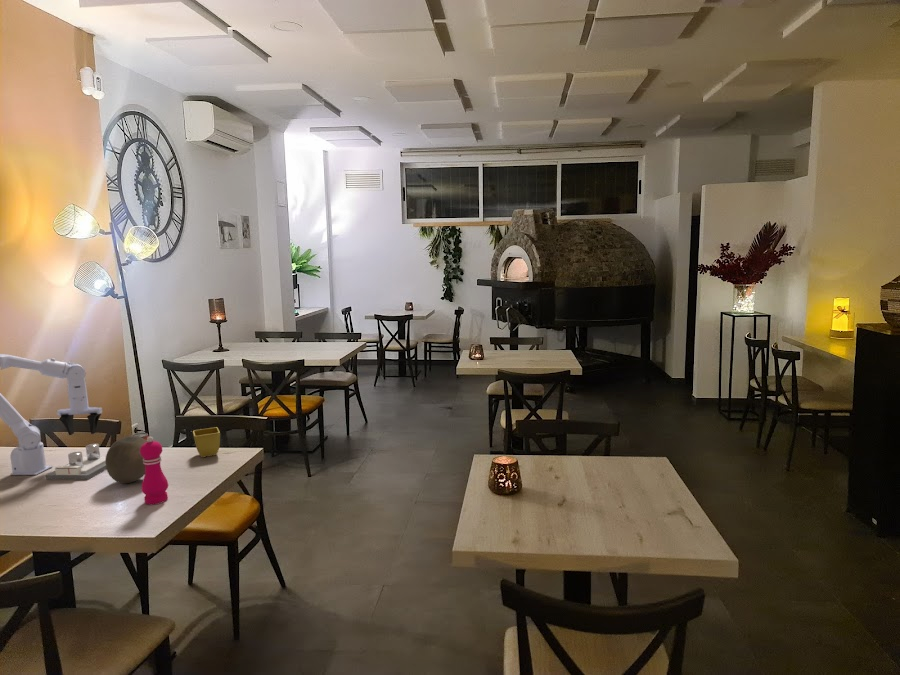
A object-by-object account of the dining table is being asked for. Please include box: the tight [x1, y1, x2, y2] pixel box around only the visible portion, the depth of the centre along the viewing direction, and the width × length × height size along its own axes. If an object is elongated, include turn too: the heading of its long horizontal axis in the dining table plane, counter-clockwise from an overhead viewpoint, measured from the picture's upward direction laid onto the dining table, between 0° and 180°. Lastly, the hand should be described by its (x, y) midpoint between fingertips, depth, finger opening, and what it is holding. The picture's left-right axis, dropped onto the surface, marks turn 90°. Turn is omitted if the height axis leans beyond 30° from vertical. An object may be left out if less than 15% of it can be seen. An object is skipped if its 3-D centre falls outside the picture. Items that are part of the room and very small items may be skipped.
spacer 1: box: [67, 451, 84, 468], centre depth 204 cm, size 4×4×5 cm
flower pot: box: [192, 426, 221, 458], centre depth 220 cm, size 9×9×9 cm
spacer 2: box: [85, 443, 101, 461], centre depth 212 cm, size 4×4×5 cm
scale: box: [45, 456, 107, 480], centre depth 208 cm, size 15×17×4 cm
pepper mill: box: [140, 436, 169, 505], centre depth 179 cm, size 7×7×20 cm
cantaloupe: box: [105, 435, 147, 484], centre depth 195 cm, size 14×14×15 cm
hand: (82, 433), depth 216 cm, fingers open, 7 cm apart
